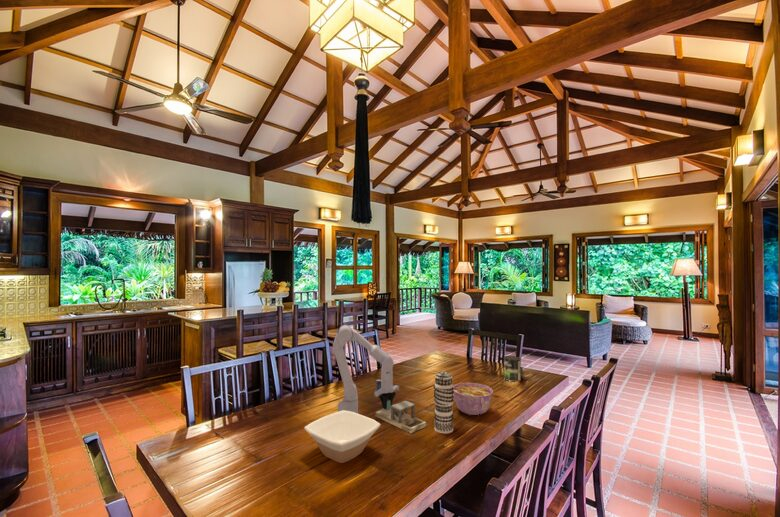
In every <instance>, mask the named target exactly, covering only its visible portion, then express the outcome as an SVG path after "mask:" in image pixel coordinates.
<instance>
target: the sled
mask: <svg viewBox="0 0 780 517" xmlns="http://www.w3.org/2000/svg"><path fill="white" fill-rule="evenodd" d="M391 406H392V405H391V400H387V409H384V408H382V409H380V410H381V412H382V413H384V414H387V415H389V416H391ZM408 414H409V413H407V414H406V413H404V414H403V415H402V420H404V419H407V418H409V417H410V414H409V415H408ZM395 419H397V420H398V416H396V415H395Z"/></svg>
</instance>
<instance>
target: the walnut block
mask: <svg viewBox="0 0 780 517" xmlns="http://www.w3.org/2000/svg"><path fill="white" fill-rule="evenodd" d="M395 404H396V403H395ZM395 404H393V405H395ZM403 414H404V410H402V415H403ZM395 415H396V416H398V410H397V409H395Z"/></svg>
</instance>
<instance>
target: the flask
mask: <svg viewBox="0 0 780 517" xmlns="http://www.w3.org/2000/svg"><path fill="white" fill-rule="evenodd" d="M379 389H381V379H375V391H377V390H379ZM378 398H379V396H378Z"/></svg>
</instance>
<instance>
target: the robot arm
mask: <svg viewBox="0 0 780 517" xmlns="http://www.w3.org/2000/svg"><path fill="white" fill-rule="evenodd" d="M349 341H351V342H357V343H358V344H359V345H360V346H362V347H364V348H365V349H366V350H367V351H368V355H369V356H371V357H372V358H373V359H374V360H375V361H377V362H378V363H380V364H381V370H380V378H381V379H380V380H381V389H379V390H377V391H376V390H375V391H374V393H373V395H374V397H376V398H377V397H378V396H379V397H378V398H379V400H380V402H381V406H382V409H387V400H391V406H392V405H393V401H394V398H395V397H396V395H397V394H396V393H397V392H395V391H400V385H397V384H396V385H394V377H393V376H394V375H393V374H394V373H393V372H394V371H393V368H394V365H395V362H394V359H393V357H392V356H391V355H390V353H388V352H386V351H384V350H383V349H382V347H381V346H380V345H377V344H372V343H371V342H369V340H367V339H366V337H364V336H363V335H362V334H360V332H358V331H357V330H356V329H354V328H351V327H350V326H349V325H347V324H344V325H341V326H340V327H339V328H338V329H337V331H336V333H335V337H334V340H333V343H332V349H333V353H334V356H335V360H336V362H337V366H338V369H339V370H338V371H339V373H340V377H341V380H342V384H343V392H344V396H343V397H342V400H340V401H339V402H338V403H337V412H339V411H343V410H346V411H351V412H355V413H357V414H359V396H358V395H359V394H358V393H359V392H358V390H357V385H356V383H355V382H354V380H353V377H352V375H351V371H350V368H349V364H348V361H347V358H346V354H345V351H344V347H345V345H346V343H348V342H349Z"/></svg>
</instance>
